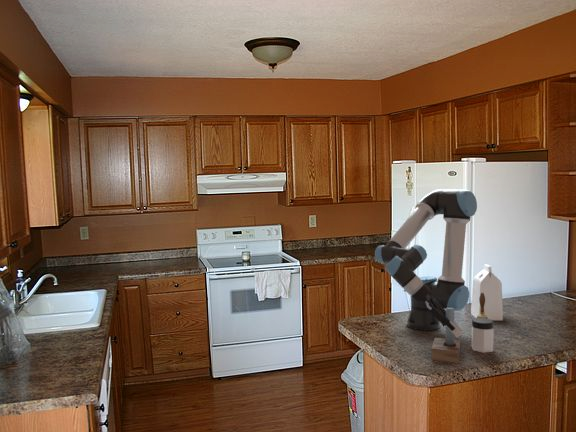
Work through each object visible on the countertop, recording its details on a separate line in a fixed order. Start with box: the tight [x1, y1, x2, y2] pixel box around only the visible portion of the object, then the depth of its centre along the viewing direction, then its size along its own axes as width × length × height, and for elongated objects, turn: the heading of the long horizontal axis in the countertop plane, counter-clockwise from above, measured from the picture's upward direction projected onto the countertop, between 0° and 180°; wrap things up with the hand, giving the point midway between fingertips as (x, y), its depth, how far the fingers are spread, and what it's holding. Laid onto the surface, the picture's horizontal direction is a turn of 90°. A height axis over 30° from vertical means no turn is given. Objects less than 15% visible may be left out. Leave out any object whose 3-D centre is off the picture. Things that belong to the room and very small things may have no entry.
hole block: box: [431, 337, 461, 364], centre depth 206 cm, size 14×10×4 cm
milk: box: [470, 263, 504, 321], centre depth 259 cm, size 12×12×26 cm
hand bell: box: [477, 293, 488, 319], centre depth 243 cm, size 8×8×16 cm
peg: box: [444, 308, 455, 345], centre depth 205 cm, size 3×3×14 cm
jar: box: [470, 317, 494, 353], centre depth 213 cm, size 9×8×12 cm
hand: (460, 334), depth 204 cm, fingers closed on peg, 3 cm apart
